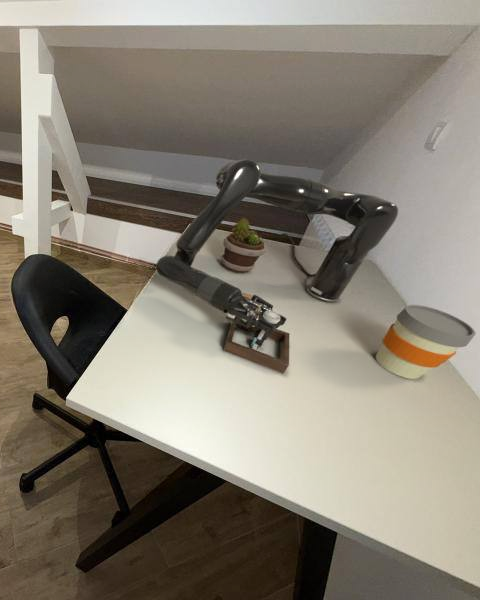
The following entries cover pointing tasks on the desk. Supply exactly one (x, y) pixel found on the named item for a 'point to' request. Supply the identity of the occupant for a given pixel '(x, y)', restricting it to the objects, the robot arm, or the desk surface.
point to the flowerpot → (242, 248)
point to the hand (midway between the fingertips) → (279, 326)
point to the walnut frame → (255, 355)
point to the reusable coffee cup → (422, 341)
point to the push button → (262, 335)
